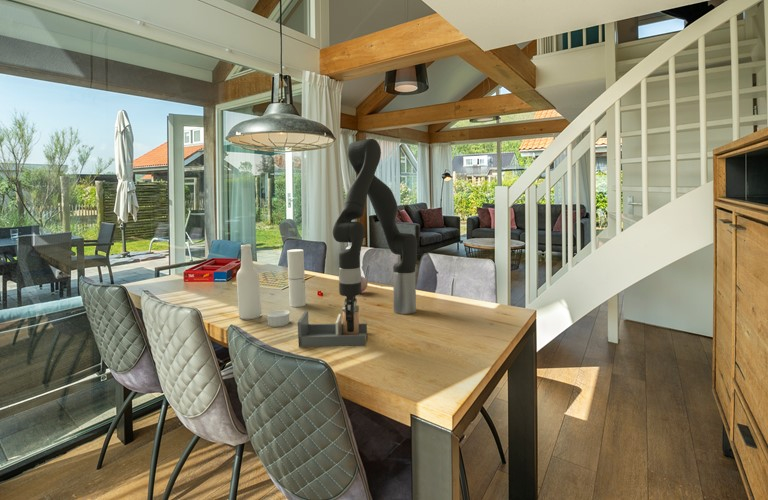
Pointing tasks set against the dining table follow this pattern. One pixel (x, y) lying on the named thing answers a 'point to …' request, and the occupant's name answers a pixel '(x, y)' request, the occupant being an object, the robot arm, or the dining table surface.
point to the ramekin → (278, 318)
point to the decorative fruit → (363, 283)
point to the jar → (356, 322)
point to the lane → (327, 334)
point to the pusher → (338, 325)
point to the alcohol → (248, 286)
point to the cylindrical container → (296, 277)
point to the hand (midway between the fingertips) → (351, 328)
